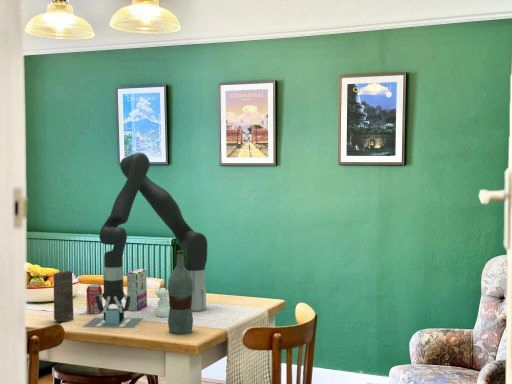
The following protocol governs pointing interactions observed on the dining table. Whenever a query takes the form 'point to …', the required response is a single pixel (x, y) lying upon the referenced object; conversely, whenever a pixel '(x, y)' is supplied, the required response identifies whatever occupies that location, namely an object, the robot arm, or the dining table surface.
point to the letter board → (124, 324)
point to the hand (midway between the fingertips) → (113, 321)
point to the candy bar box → (137, 289)
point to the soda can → (93, 298)
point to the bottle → (180, 298)
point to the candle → (63, 296)
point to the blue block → (112, 316)
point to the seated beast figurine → (162, 303)
